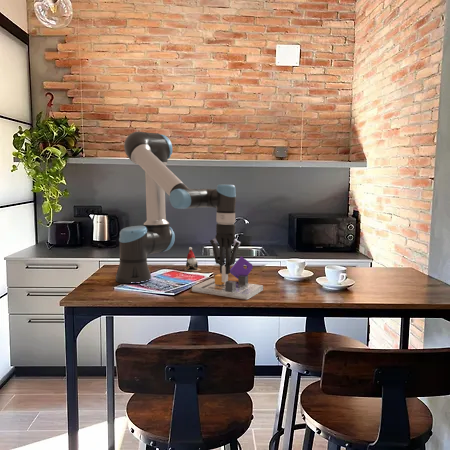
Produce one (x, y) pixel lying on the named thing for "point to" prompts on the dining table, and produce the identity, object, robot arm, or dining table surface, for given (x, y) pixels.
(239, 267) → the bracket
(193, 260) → the figurine
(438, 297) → the dining table surface
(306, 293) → the dining table surface
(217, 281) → the handle
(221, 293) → the panel
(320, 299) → the dining table surface
